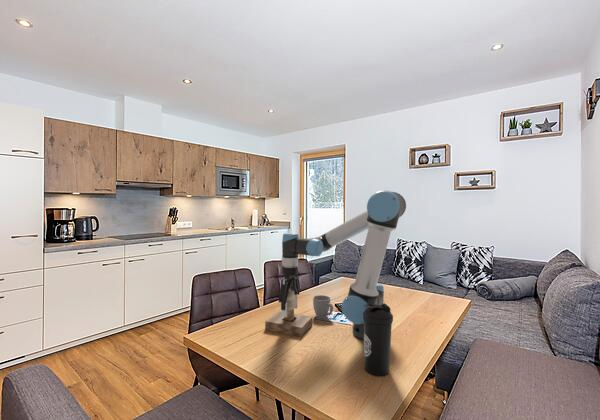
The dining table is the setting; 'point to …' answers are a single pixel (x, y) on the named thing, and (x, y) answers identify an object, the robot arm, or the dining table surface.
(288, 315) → the peg
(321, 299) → the mug
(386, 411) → the dining table surface
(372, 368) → the water bottle
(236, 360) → the dining table surface
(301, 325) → the board
